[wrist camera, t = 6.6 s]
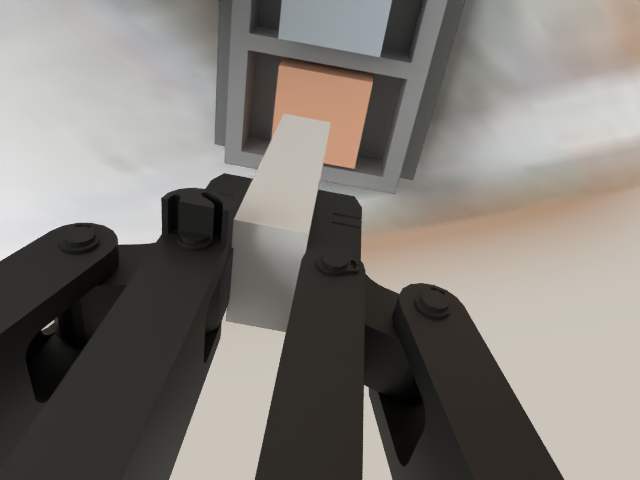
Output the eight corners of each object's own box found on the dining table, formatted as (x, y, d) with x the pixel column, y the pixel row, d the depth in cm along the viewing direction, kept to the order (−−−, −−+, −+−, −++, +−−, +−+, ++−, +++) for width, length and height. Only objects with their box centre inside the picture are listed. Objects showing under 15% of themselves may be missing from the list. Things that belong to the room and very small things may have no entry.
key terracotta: (276, 138, 25) (269, 153, 23) (285, 55, 23) (279, 65, 21) (355, 153, 25) (354, 168, 23) (372, 71, 23) (372, 82, 21)
